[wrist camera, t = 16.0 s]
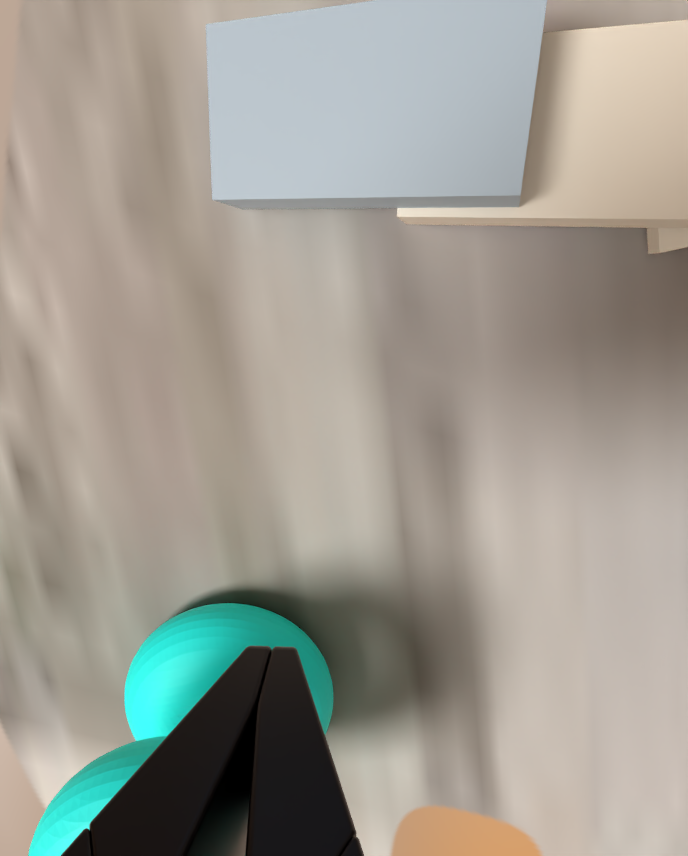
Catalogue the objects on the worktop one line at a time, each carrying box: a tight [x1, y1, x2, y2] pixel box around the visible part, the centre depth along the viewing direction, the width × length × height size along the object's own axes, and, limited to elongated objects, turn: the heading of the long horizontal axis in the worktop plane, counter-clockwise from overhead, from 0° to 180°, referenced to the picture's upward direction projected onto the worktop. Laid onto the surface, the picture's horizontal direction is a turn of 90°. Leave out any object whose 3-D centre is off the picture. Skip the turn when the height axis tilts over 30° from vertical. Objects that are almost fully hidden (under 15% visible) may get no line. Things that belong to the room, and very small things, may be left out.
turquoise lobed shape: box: [28, 603, 333, 856], centre depth 20 cm, size 10×10×10 cm
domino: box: [206, 0, 547, 209], centre depth 15 cm, size 2×5×10 cm
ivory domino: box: [397, 20, 688, 228], centre depth 15 cm, size 2×5×10 cm
